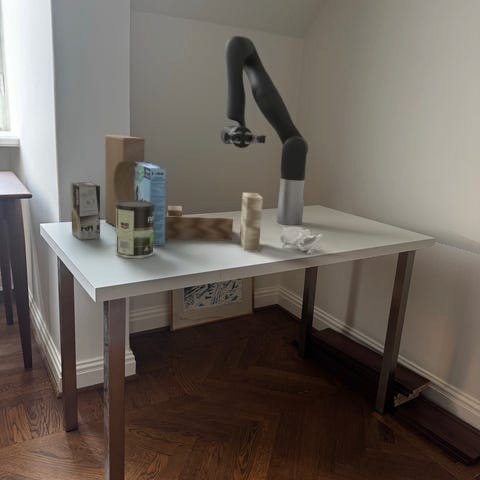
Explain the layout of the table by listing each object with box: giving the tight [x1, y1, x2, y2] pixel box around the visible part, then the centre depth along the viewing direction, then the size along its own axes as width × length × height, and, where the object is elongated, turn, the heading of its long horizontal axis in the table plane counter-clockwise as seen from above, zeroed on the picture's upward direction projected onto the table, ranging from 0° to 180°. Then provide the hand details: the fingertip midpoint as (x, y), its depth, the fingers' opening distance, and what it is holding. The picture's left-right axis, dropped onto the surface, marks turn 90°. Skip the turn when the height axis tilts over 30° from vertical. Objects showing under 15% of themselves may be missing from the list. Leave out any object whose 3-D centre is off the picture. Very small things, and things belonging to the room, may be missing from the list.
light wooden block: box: [239, 192, 264, 252], centre depth 143 cm, size 4×10×16 cm, turn 8°
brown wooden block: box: [165, 215, 234, 241], centre depth 155 cm, size 23×14×7 cm, turn 98°
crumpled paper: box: [280, 226, 323, 255], centre depth 145 cm, size 12×7×12 cm
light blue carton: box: [134, 161, 167, 246], centre depth 144 cm, size 20×5×23 cm, turn 25°
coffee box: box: [70, 181, 101, 241], centre depth 142 cm, size 9×6×16 cm
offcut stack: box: [166, 205, 183, 216], centre depth 154 cm, size 5×10×9 cm, turn 8°
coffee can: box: [115, 200, 155, 259], centre depth 128 cm, size 10×10×14 cm
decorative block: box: [104, 134, 146, 228], centre depth 157 cm, size 15×8×30 cm, turn 37°
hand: (247, 138), depth 154 cm, fingers open, 8 cm apart
